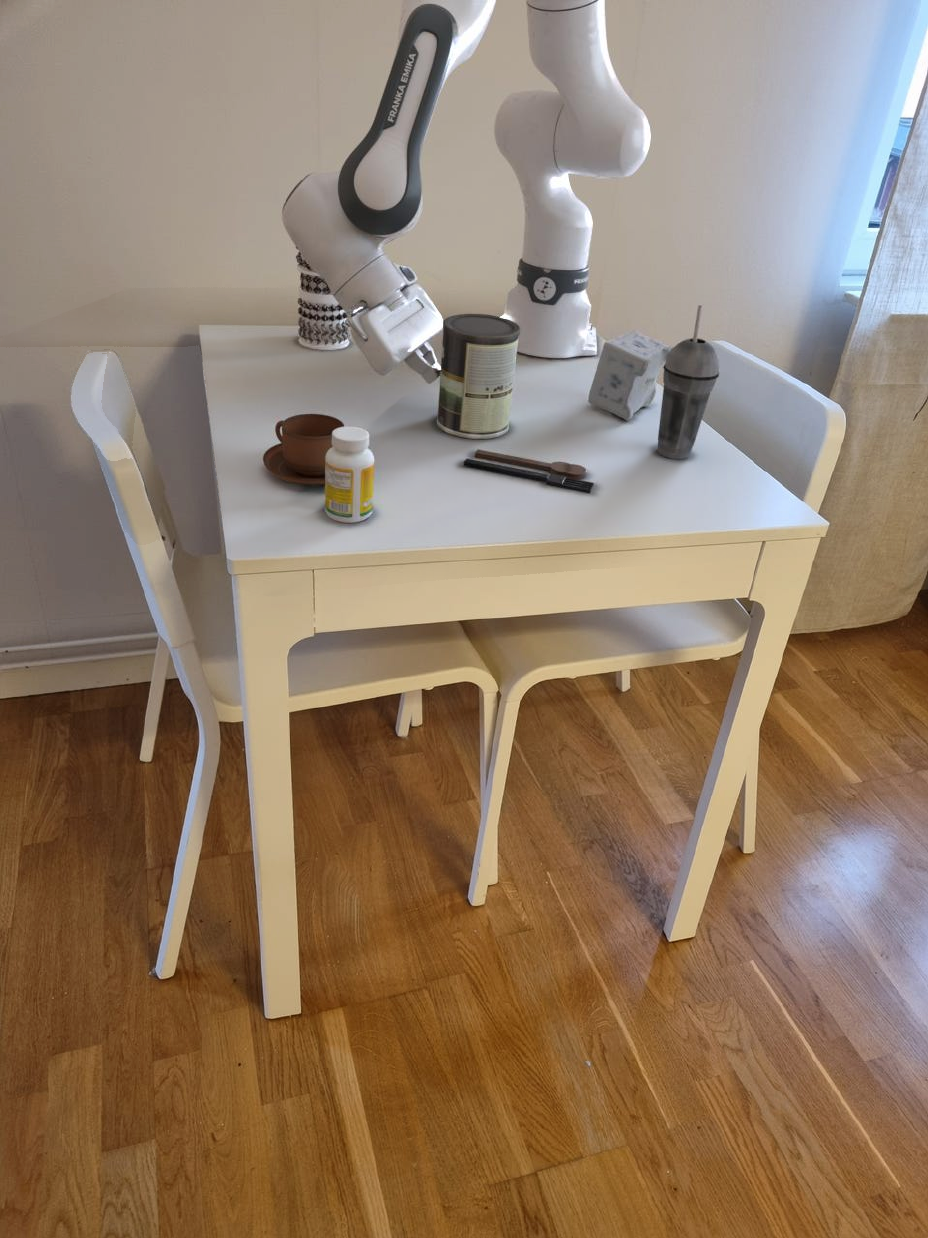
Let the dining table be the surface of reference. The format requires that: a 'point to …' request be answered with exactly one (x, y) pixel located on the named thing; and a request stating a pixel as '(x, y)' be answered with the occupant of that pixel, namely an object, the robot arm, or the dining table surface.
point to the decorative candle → (319, 312)
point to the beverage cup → (686, 393)
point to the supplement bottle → (349, 476)
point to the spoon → (537, 464)
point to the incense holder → (628, 373)
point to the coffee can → (477, 375)
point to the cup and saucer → (302, 448)
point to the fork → (533, 475)
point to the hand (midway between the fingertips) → (436, 378)
